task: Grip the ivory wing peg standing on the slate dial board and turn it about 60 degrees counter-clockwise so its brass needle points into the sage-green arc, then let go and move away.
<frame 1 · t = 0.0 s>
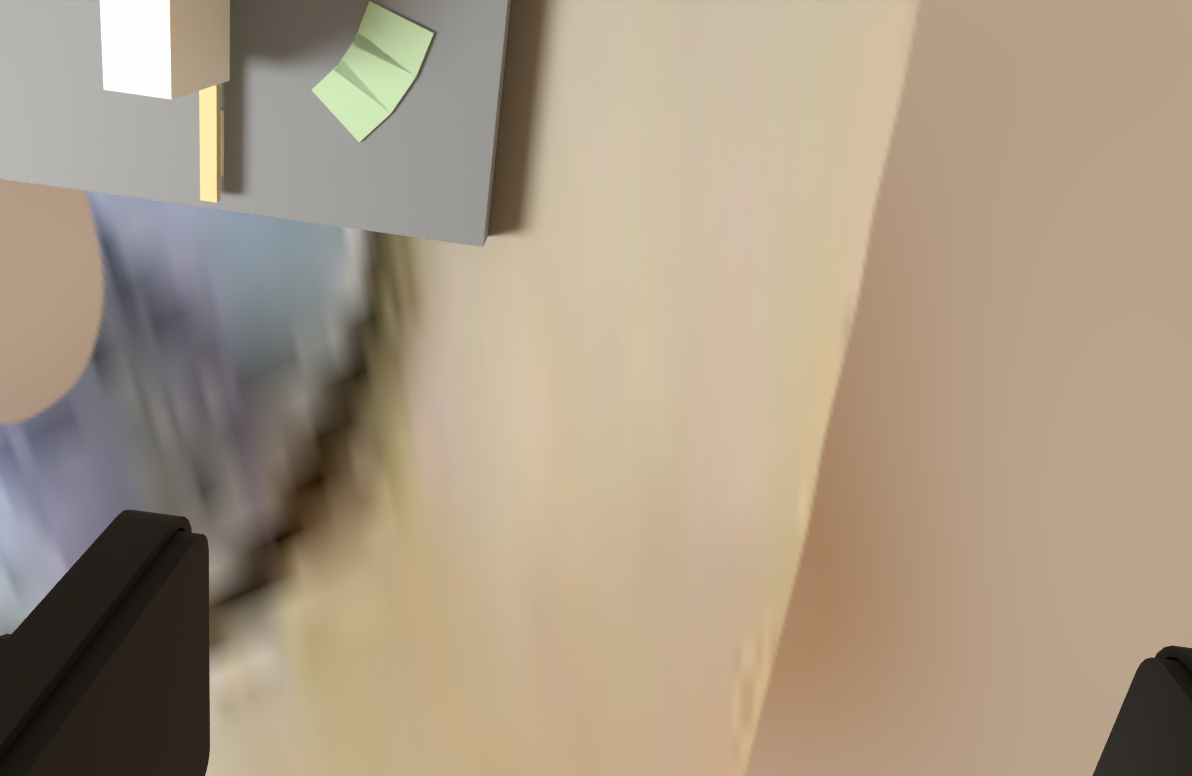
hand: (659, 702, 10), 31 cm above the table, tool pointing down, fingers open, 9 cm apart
ivory wing peg: (177, 26, 33), point 5 cm above the table, hinge at 0.0°
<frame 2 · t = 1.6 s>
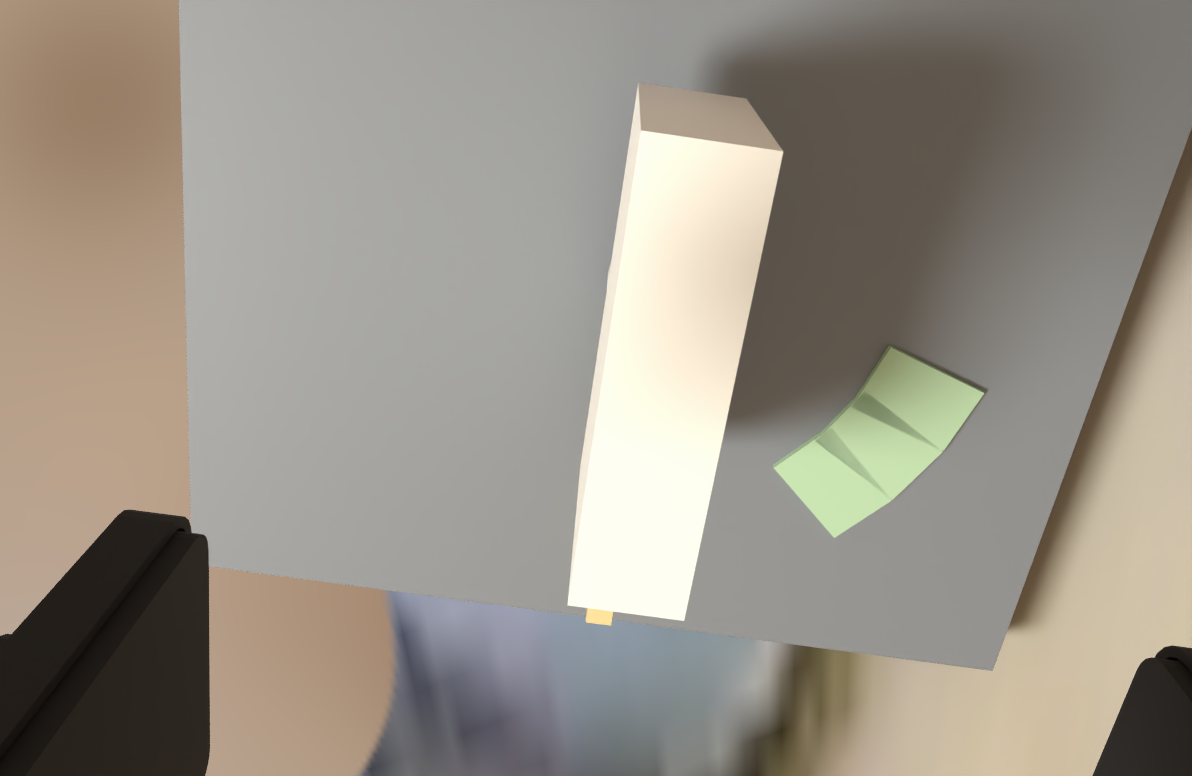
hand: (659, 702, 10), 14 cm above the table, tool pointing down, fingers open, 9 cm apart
slate dial board: (653, 252, 23), on the table
ivory wing peg: (640, 439, 20), point 5 cm above the table, hinge at 0.0°
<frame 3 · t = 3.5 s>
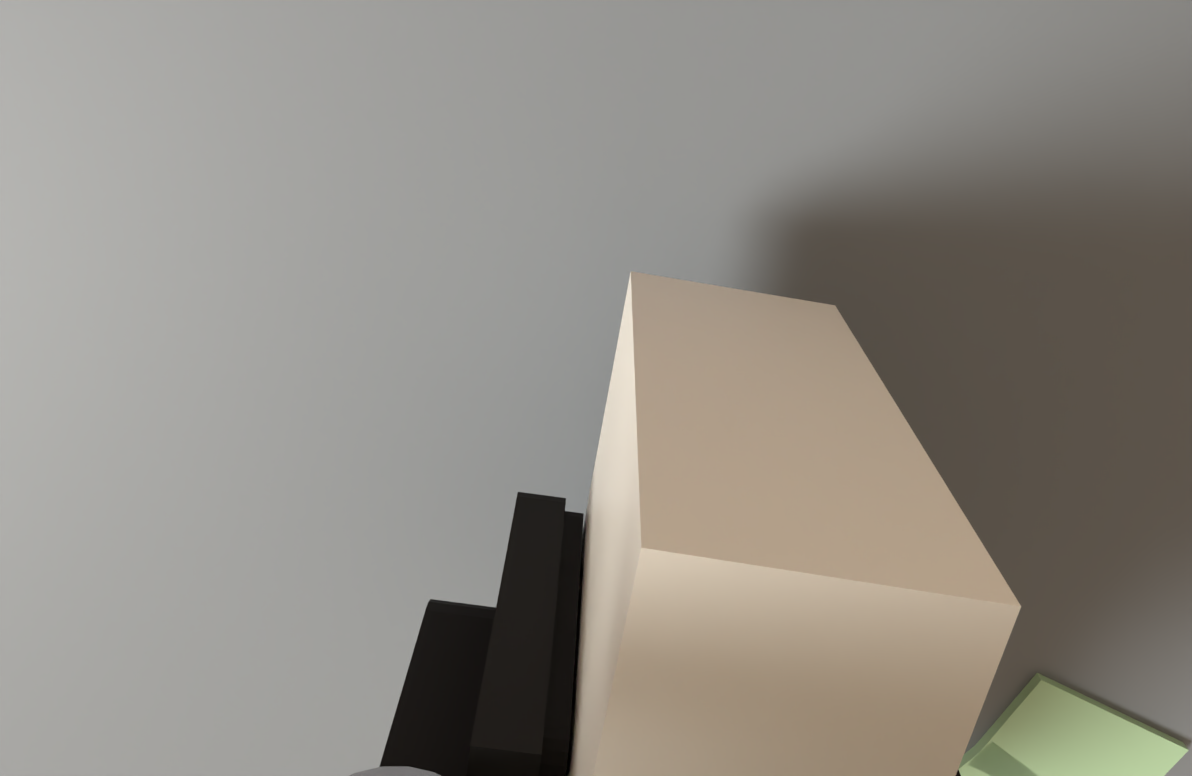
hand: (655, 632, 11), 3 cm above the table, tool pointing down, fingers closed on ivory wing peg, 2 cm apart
slate dial board: (648, 495, 14), on the table
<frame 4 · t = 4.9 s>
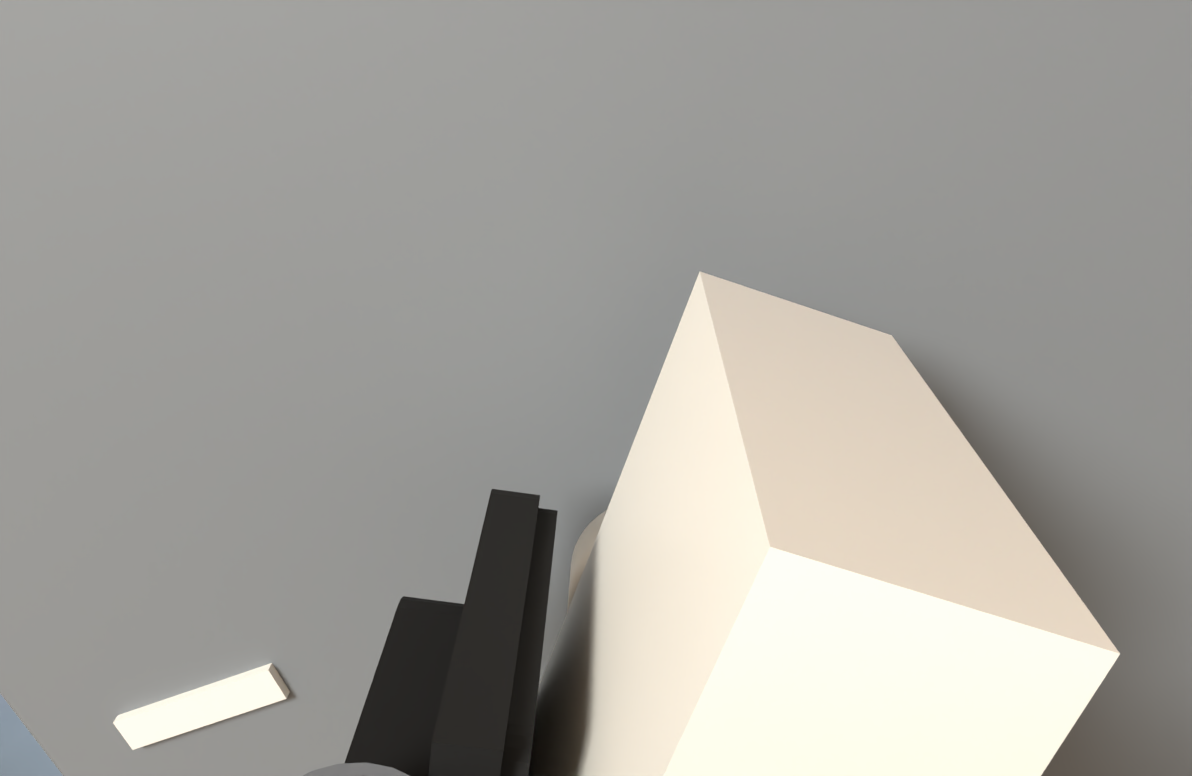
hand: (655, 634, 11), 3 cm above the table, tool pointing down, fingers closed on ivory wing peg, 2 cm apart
slate dial board: (648, 494, 14), on the table
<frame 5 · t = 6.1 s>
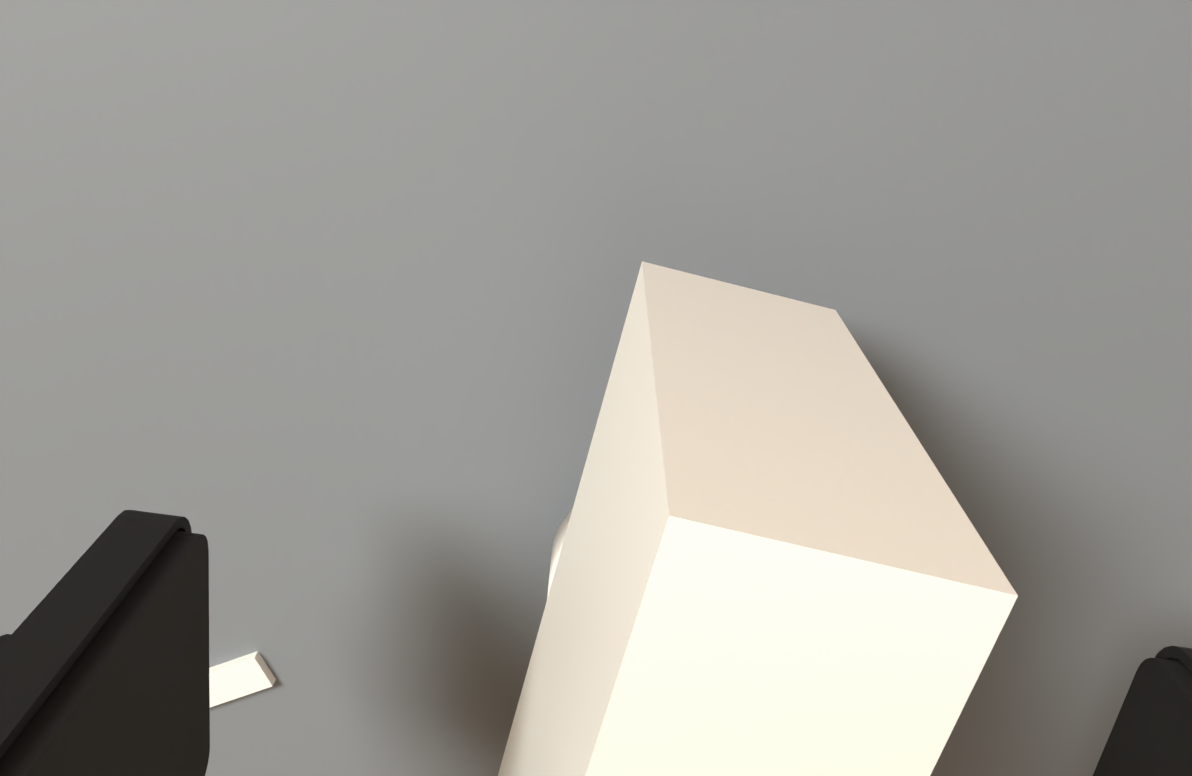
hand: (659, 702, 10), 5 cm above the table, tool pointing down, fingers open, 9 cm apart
slate dial board: (629, 484, 15), on the table
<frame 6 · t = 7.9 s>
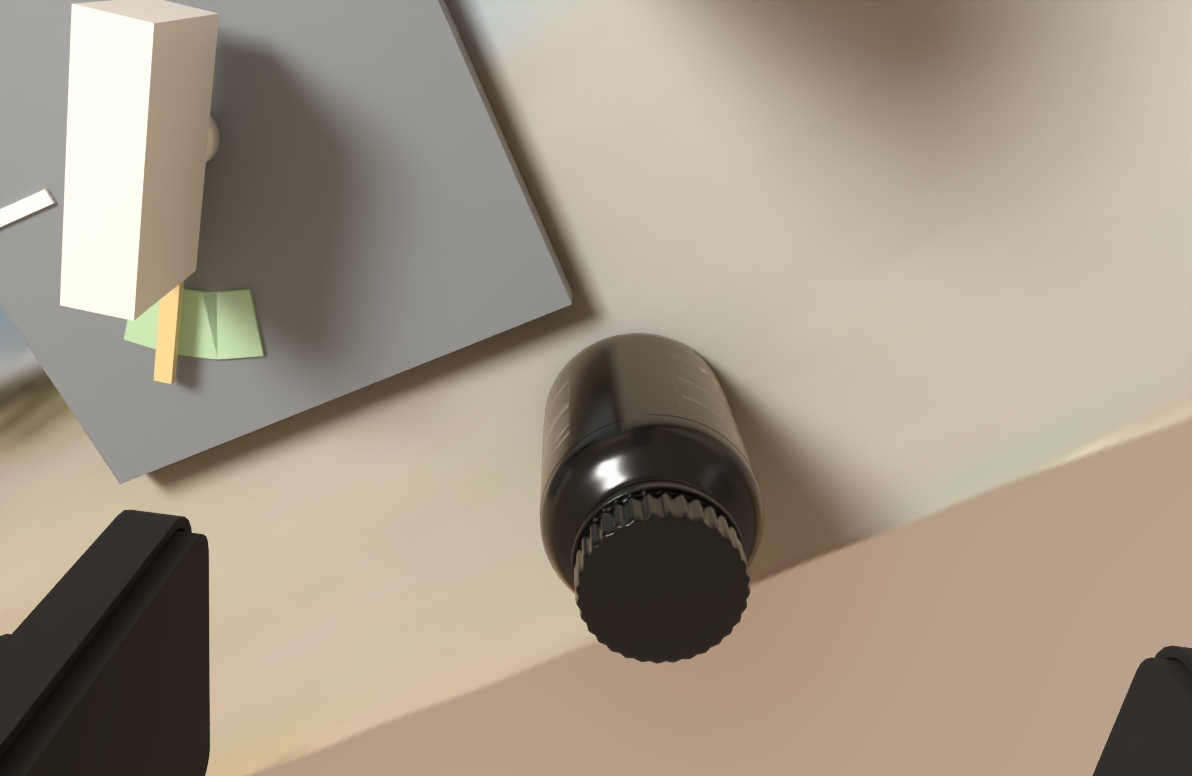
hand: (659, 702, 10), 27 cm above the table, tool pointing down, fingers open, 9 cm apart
slate dial board: (207, 125, 35), on the table
supplement bottle: (636, 410, 39), on the table
ivory wing peg: (145, 225, 31), point 5 cm above the table, hinge at 54.5°
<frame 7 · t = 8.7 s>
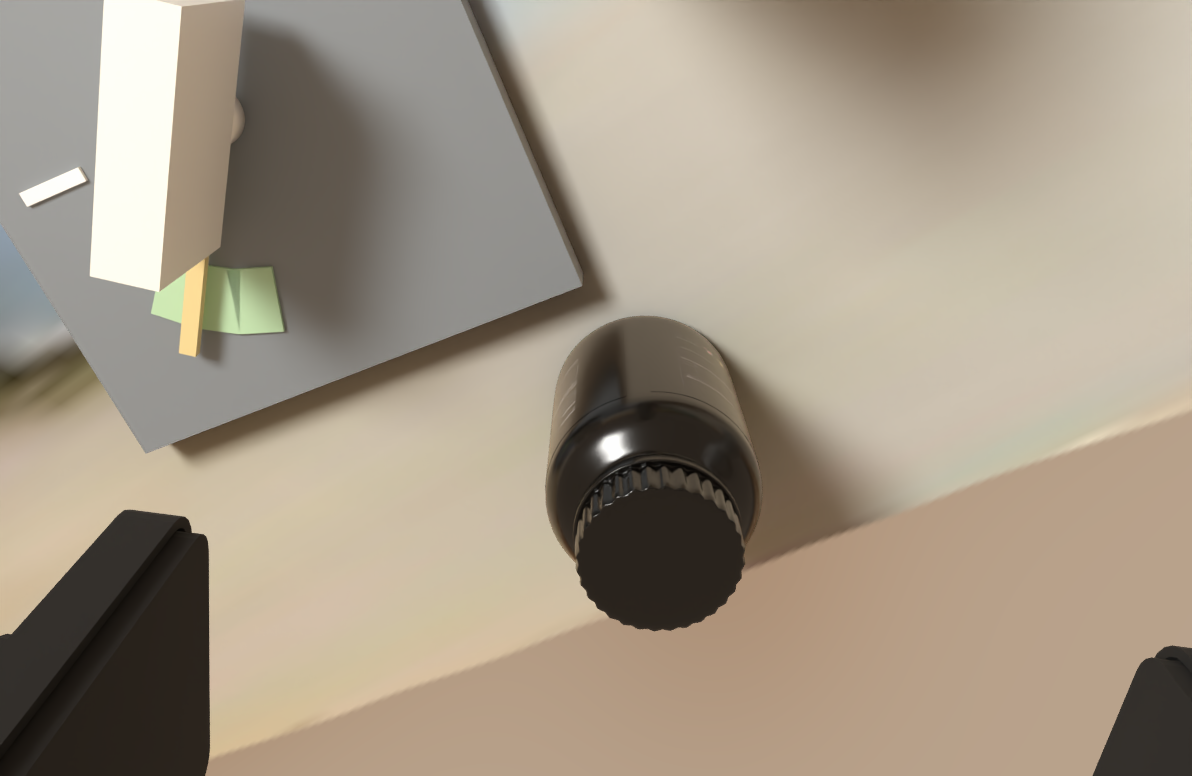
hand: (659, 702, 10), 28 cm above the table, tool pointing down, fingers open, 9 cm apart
slate dial board: (234, 108, 36), on the table
supplement bottle: (645, 392, 40), on the table
ivory wing peg: (171, 202, 32), point 5 cm above the table, hinge at 54.5°
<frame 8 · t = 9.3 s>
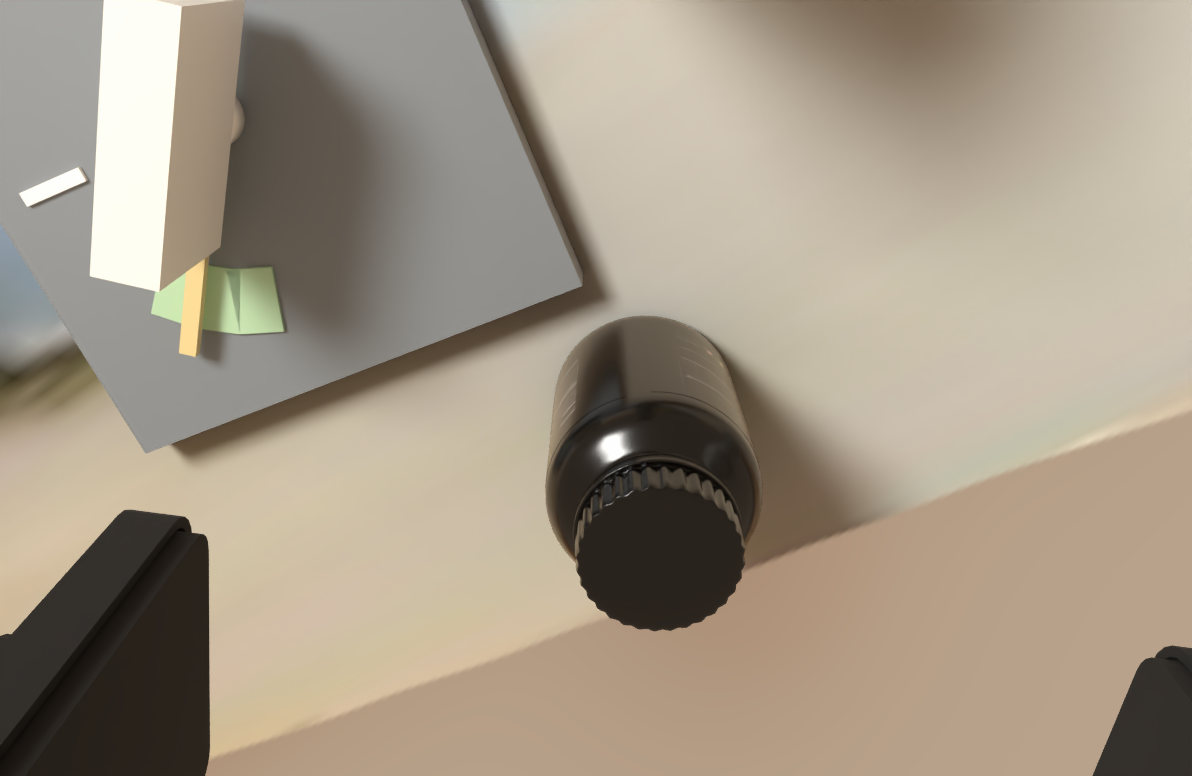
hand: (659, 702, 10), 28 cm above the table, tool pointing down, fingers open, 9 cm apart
slate dial board: (234, 108, 36), on the table
supplement bottle: (645, 392, 40), on the table
ivory wing peg: (171, 202, 32), point 5 cm above the table, hinge at 54.5°
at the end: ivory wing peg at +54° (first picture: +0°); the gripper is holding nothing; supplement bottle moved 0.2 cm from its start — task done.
